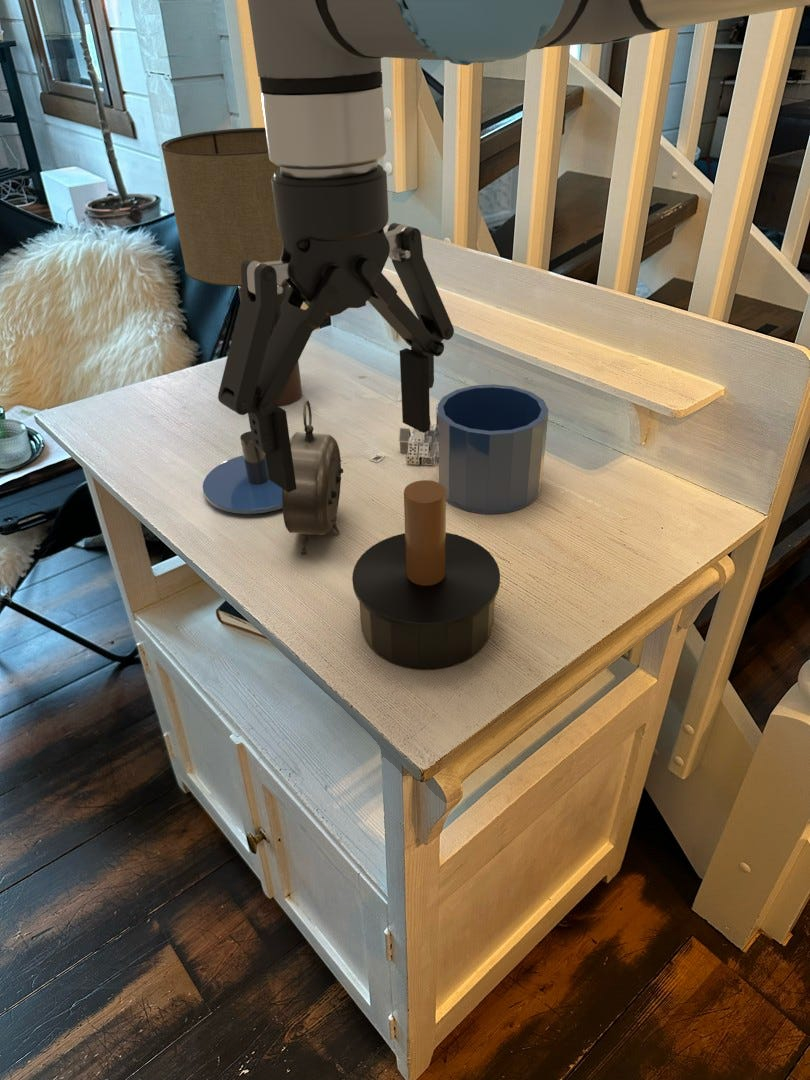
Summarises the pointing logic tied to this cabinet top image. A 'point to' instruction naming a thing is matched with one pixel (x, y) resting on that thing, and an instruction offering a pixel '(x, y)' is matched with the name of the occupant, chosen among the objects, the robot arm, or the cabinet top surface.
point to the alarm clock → (313, 483)
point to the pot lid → (243, 483)
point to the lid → (426, 568)
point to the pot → (491, 447)
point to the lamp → (226, 210)
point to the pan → (427, 640)
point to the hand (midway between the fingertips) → (353, 454)
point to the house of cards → (417, 446)
